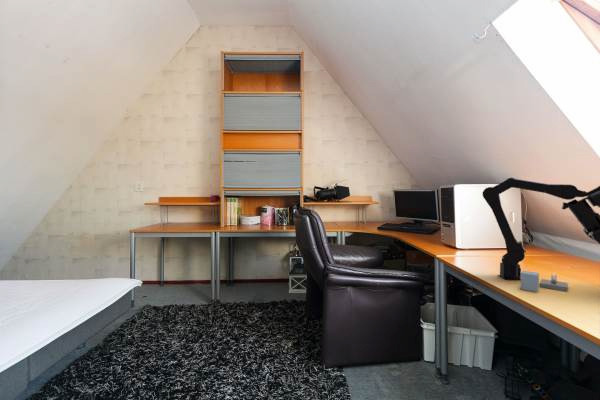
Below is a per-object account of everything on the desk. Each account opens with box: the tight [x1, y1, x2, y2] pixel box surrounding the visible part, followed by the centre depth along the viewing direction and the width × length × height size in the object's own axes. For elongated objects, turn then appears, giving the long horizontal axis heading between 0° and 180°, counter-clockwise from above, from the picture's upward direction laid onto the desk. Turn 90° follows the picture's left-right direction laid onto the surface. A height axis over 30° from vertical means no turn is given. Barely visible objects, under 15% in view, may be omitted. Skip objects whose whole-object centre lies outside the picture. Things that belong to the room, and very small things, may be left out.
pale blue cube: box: [520, 270, 540, 293], centre depth 118 cm, size 5×5×6 cm
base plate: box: [539, 274, 569, 292], centre depth 121 cm, size 8×8×4 cm
